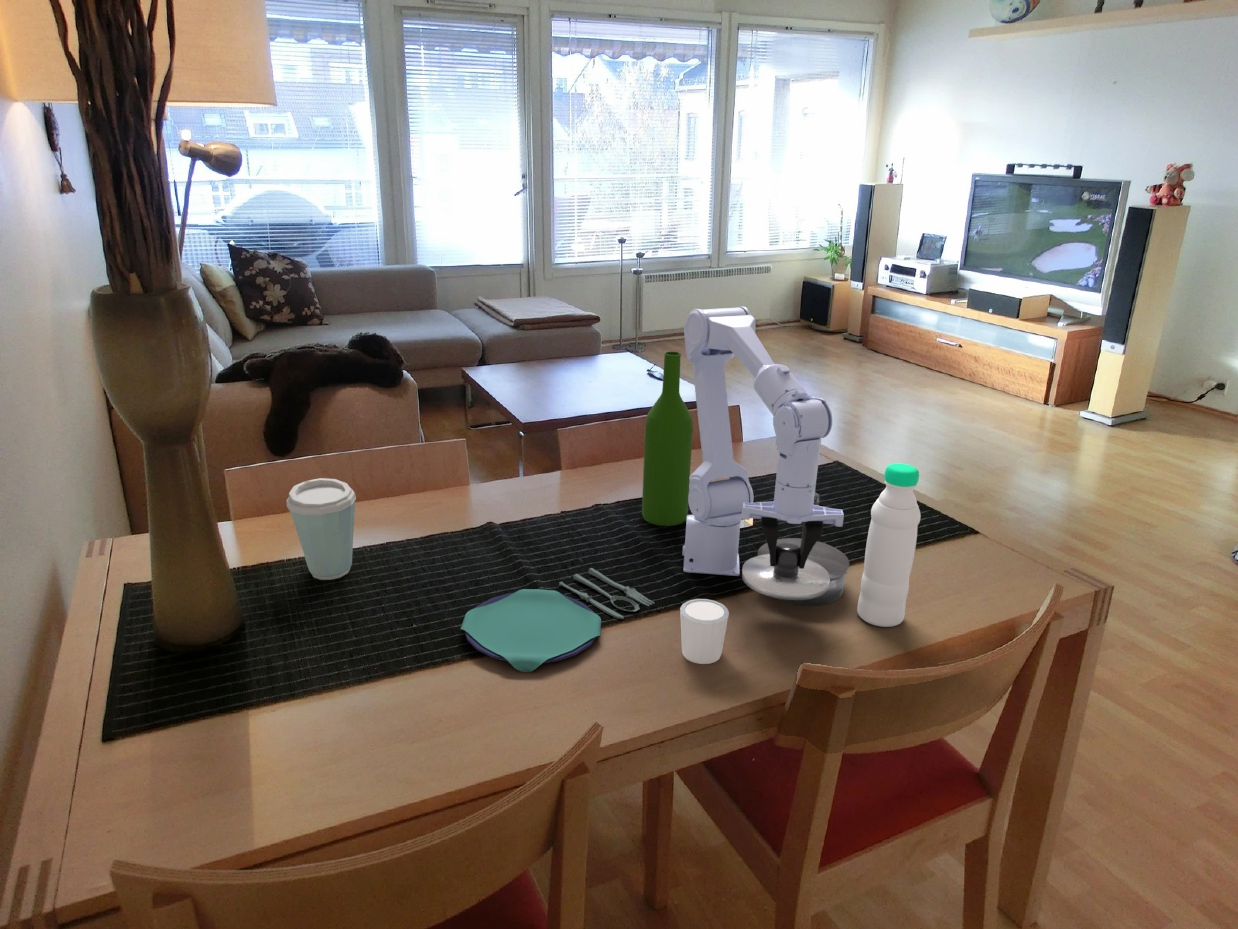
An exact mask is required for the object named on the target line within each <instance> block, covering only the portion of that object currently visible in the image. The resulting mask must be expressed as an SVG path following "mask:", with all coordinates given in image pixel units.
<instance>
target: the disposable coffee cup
mask: <svg viewBox="0 0 1238 929" xmlns="http://www.w3.org/2000/svg"><path fill="white" fill-rule="evenodd" d="M356 499H357V497H356V492H355V491H354V490H353V488H351V487H350V485H349V484H348V483H347V482H345V481H341V480H338V479H336V478H324V477H322V478H321V477H320V478H315V479H310V480H305V481H302V482H300V483H298V484H295V485H293V487H292V488H291V490H290V491H289V492H288V497H287V499H285V500H286V507H287V509H288V511H289V512H290V514H291V517H292V518H291V519H292V521H293V524H294V527H295V530H296V533H297V538H298V540H299V543H300V545H301V549H302V553H303V556H304V559H305V562H306V565H307V568H308V571H309V572H310V574H311V575H312V578H314V579H318V580H320V581H327V580H329V581H331V580H336V579H340V578H342V577H344V576H345V575H347V574H349V572H350V570H351V567H352V565H353V549H354V548H353V547H354V531H355V530H354V529H355V528H354V527H355V526H354V525H355V507H356V506H355V504H356Z"/></svg>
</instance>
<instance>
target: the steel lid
mask: <svg viewBox="0 0 1238 929" xmlns="http://www.w3.org/2000/svg"><path fill="white" fill-rule="evenodd" d="M800 552H801V549H800V547H798V546H797V545H794V544H790V543H782V544H778V545H777V546H776V564H775V566H770V554H766V555H760V556H758V555H757V556H754V557H751V558H749V559H747V560H746V561H745V562H744V564H743V565H742V570H741V571H742V572H741V577H742V578H741V579H742V581H743V582H744V584H746V585H747V587H749V589H751V590H752V591H755V592H757V593H759V594H762V595H764V596H767V597H771V598H773V597H774V598H773V599H775V598H779V599H786V600H806V599H812V598H816V597H819V596H821V595H823V594H824V593H825V592H826V591H827V590H828V588H829V582H830V575H829V573H828V572H827V570H826V569H825V568H823V567H822V566H821V565H819V564H817V563H815V562H813V561H811V560H808V559H807V560H806V563H805V566H804V569H800V568H799V561H800Z"/></svg>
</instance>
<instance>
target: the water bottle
mask: <svg viewBox="0 0 1238 929" xmlns="http://www.w3.org/2000/svg"><path fill="white" fill-rule="evenodd" d="M883 477H884V479H883V480H884V484H886V485H885V486H886V487H885V488H884V489H883V490H882V491H881V493H880V495H878V496H879V497H878V498H877V499H876V501H875V502H873V504H872V507H871V509H870V515H871V516H870V517H871V520H870V523H869V528H868V534H867V539H866V545H865V546H866V547H865V553H864V562H863V563H864V566H863V569H864V570H863V573H862V576H861V580H860V594H859V597H858V601H857V609H856V610H857V614H858V616H859V617H860V619H862V620H863V621H864V622H865V623H867V624H870V625H872V626H876V627H881V628H891V627H895V626H898V625H901V623H902V622H904V618H905V613H906V605H907V604H906V603H907V602H906V600H907V598H908V595H909V589H910V577H911V572H912V568H913V565H914V564H913V563H914V558H915V553H916V548H917V547H916V546H917V538H918V526H919V524H920V522H921V517H922V516H921V510H920V508H919V505H918V502H917V498H916V495H915V493H914V489H915V488H917V484H918V482H919V479H920V472H919V470H918V468H916V467H915V466H913V465H911V464H907V463H898V462H897V463H896V462H895V463H890V464H888V465H887V466H886V467H885V471H884V475H883Z"/></svg>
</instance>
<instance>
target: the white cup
mask: <svg viewBox="0 0 1238 929" xmlns="http://www.w3.org/2000/svg"><path fill="white" fill-rule="evenodd" d="M679 612H680V613H679V614H680V616H679V617H680V635H681V636H680V637H681V638H680V639H681V640H680V641H681V653H682V656H683V657H684V658H685V659H686V660H688V661H689V662H692V663H695V664H698V665H699V664H700V665H705V664H706V665H708V664H709V665H710V664H713V663H716V662H717V661H718V660H720V658H721V657H722V653H723V647H724V643H725V642H724V641H725V638H726V632H727V626H728V621H729V616H730V615H729V614H730V613H729V609H728V608H727V607H726V606H725V605H724V604H723V603H721V602H719V601H716V600H713V599H708V598H695V599H689V600H687V601H686V602H684V603H682V605H681V606H680V608H679Z"/></svg>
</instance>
